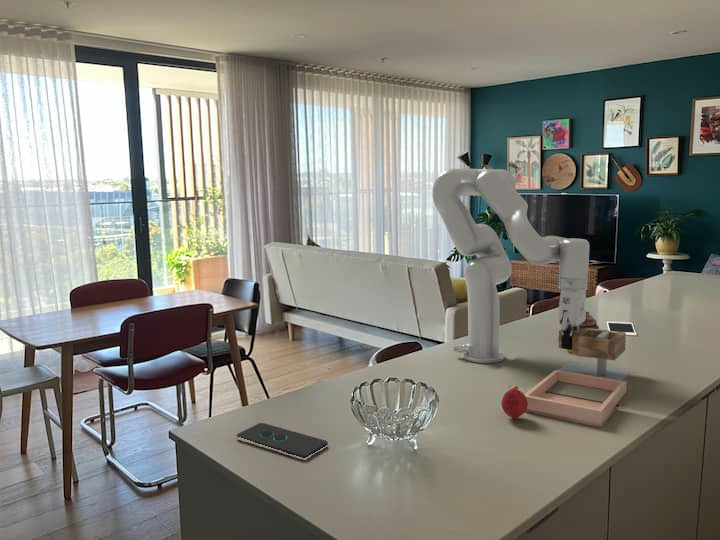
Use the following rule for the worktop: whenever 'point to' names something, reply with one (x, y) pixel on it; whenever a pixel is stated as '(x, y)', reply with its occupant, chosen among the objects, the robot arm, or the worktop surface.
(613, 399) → the tray
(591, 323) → the cupcake
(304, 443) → the slab with cyan rings
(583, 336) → the wooden bar frame
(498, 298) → the robot arm
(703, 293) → the worktop surface
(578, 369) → the stand
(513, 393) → the onion
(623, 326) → the cell phone
